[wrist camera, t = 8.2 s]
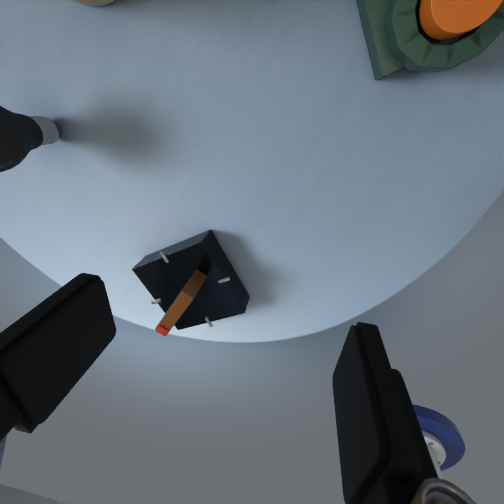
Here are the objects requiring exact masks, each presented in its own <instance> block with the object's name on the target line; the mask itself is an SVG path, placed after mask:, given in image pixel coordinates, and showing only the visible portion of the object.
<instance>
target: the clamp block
mask: <svg viewBox="0 0 504 504" xmlns="http://www.w3.org/2000/svg"><path fill="white" fill-rule="evenodd" d="M196 269H197V270H199V271H200V272H202V273H204V274H205V275H207V277H206V279H205V281H204V282H203V284H202V286H201V287H200V289H199V291H198V293H197V294H196V296H195V298H194V299H193V301H192V302H191V303H190V305H189V306H188V307H187V309H186V310H185V311H184V313H183V314H182V315H181V316H180V318H179V319H178V320H177V322H176V323H175V324H174V325H175V327H176V328H177V329H178V330H180V329H184V328H188V327H192V326H196V325H200V324H204V323H208V324H209V325H210V327H212V326H213V324H212V323H211V321H215V320H219V319H223V318H227V317H231V316H235V315H239V314H243V313H245V311H246V308H247V304H248V301H249V295H248V293H247V292H246V290H245V288H244V286H243V285H242V283H241V281H240V279H239V278H238V276H237V274H236V272H235V271H234V269H233V267H232V266H231V264H230V262H229V260H228V259H227V257H226V255H225V253H224V252H223V250H222V248H221V246H220V245H219V243H218V241H217V239H216V238H215V236H214V234H213V233H212V231H211V230H209V231H206V232H204V233H201V234H199V235H196V236H194V237H191V238H189V239H187V240H184V241H182V242H179V243H177V244H174V245H172V246H169V247H167V248H164V249H162V250H160V251H157V252H155V253H152V254H150V255H147V256H145V257H144V258H143V259H142V260H141V261H140V262H139V263H138V264H137V265H135V266H134V267H133V268H132V270H133V271H134V273H135V274H136V275H137V276H138V278H139V279H140V280H141V282H142V283H143V284H144V286H145V287H146V288H147V290H148V291H149V292H150V294H151V295H152V296H153V298H154V299H155V301H152V302H151V303H152V304H156V303H158V304H159V306H160V307H161V308H162V309H163V311H164V312H165V313H166V312H167V311H168V309H169V308H170V306H171V305H172V303H173V302H174V301H175V299H176V298H177V296H178V295H179V293H180V292H181V290H182V289H183V288H184V286H185V285H186V283H187V282H188V280H189V279H190V277H191V276H192V275H193V273H194V272H195V270H196Z"/></svg>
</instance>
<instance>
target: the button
mask: <svg viewBox="0 0 504 504" xmlns="http://www.w3.org/2000/svg"><path fill="white" fill-rule="evenodd" d="M502 2H503V0H421V3H420V9H419V17H420V23H421V26H422V28H423V30H424V31H425V32H426V34H427V35H429V36H430V37H432V38H434V39H437V40H448V39H452V38H455V37H457V36H459V35H461V34H464V33H466V32H468V31H470V30H472V29H474V28H476V27H478V26H479V25H481V24H482V23H484V22H485V21H486V20H487V19H488V18H490V16H491V15H492V14H493V13H494V12H495V11H496V10H497V9H498V7H499V6H500V4H501V3H502Z"/></svg>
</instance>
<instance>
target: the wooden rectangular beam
mask: <svg viewBox="0 0 504 504" xmlns="http://www.w3.org/2000/svg"><path fill="white" fill-rule="evenodd" d="M206 277H207V275H205V274H204V273H202V272H200V271H199V270H197V269H196V270H195V272H194V273H193V275H192V276H191V277H190V279H189V280H188V282H187V283H186V285H185V286H184V288H183V289H182V290H181V292H180V293H179V295H178V296H177V298H176V299H175V301H174V302H173V303H172V305H171V306H170V308H169V309H168V311H167V312H166V314H165V315H164V317H163V318H162V320H161V321H160V322H159V324H158V325H157V327H156V328H155V330H156V331H157V332H158V333H160V334H162V335H163V336H166V335H167V334H168V332H169V331H170V330H171V328H172V327H173V326H174V324H175V323H176V322H177V320H178V319H179V318H180V316H181V315H182V314H183V313H184V311H185V310H186V309H187V307H188V306H189V305H190V303H191V302H192V301H193V299H194V298H195V296H196V294H197V293H198V291H199V289H200V287H201V286H202V284H203V282H204V281H205V279H206Z"/></svg>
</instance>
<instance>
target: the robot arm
mask: <svg viewBox="0 0 504 504" xmlns="http://www.w3.org/2000/svg"><path fill="white" fill-rule="evenodd" d="M115 334H116V327H115V323H114V319H113V315H112V312H111V308H110V304H109V300H108V296H107V293H106V289H105V285H104V282H103V281H102V280H101V278H100V277H99V276H97V275H92V274H86V273H81V274H79V275H78V276H76V277H75V278H74V279H72V280H71V281H70V282H68V283H67V284H66V285H64V286H63V287H62V288H60V289H59V290H57V291H56V292H55V293H53V294H52V295H51V296H49V297H48V298H47V299H45V300H44V301H43V302H41V303H40V304H39V305H37V306H36V307H35V308H33V309H32V310H31V311H29V312H28V313H27V314H25V315H24V316H23V317H21V318H20V319H19V320H17V321H16V322H14V323H13V324H12V325H10V326H9V327H8V328H6V329H5V330H4V331H2V332H1V333H0V469H1V463H2V458H3V453H4V448H5V443H6V437H7V434H8V432H9V431H10V430H11V429H12V428H13V427H14V428H15V429H16V430H19V431H23V432H27V433H32V432H33V430H34V429H35V428H36V427H37V426H38V424H41V423H43V422H44V421H45V420H46V419H47V418H48V417H49V416H50V415H51V413H52V412H53V411H54V410H55V409H56V407H57V406H58V405H59V404H60V402H61V401H62V400H63V399H64V397H65V396H66V395H67V394H68V393H69V392H70V390H71V389H72V388H73V387H74V386H75V384H76V383H77V382H78V381H79V379H80V378H81V377H82V376H83V375H84V373H85V372H86V371H87V370H88V369H89V367H90V366H91V365H92V364H93V362H94V361H95V360H96V359H97V358H98V356H99V355H100V354H101V353H102V352H103V350H104V349H105V348H106V347H107V345H108V344H109V343H110V342H111V341H112V339H113V338H114V336H115ZM333 394H334V404H335V414H336V424H337V435H338V445H339V455H340V465H341V476H342V486H343V495H344V501H345V503H346V504H476V503H475V502H474V501H473V500H472V499H471V498H470V497H469V496H468V495H467V494H466V493H465V492H464V491H462V490H461V489H460V488H458V487H457V486H456V485H454V484H453V483H450V482H448V481H446V480H444V478H443V475H442V472H441V470H440V467H439V466H440V465H442V463H443V462H444V461H445V458H446V452H445V449H444V447H443V444H442V443H441V442H440V440H439V439H437V438H436V437H435V436H433V435H432V434H430V433H428V432H426V431H423V430H421V427H420V425H419V422H418V419H417V416H416V413H415V411H414V408H413V405H412V402H411V400H410V397H409V394H408V391H407V388H406V386H405V383H404V380H403V378H402V375H401V373H400V372H399V371H398V370H396V369H391V366H390V363H389V360H388V357H387V354H386V351H385V348H384V345H383V342H382V339H381V335H380V332H379V329H378V327H377V326H376V325H373V324H368V323H361V322H358V323H357V325H356V326H354V325H352V326H351V327H350V330H349V332H348V335H347V338H346V341H345V343H344V346H343V349H342V352H341V354H340V357H339V360H338V362H337V365H336V368H335V371H334V373H333ZM0 504H67V503H63V502H60V501H57V500H53V499H50V498H46V497H43V496H39V495H36V494H32V493H29V492H26V491H22V490H18V489H15V488H12V487H8V486H5V485H1V484H0Z"/></svg>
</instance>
